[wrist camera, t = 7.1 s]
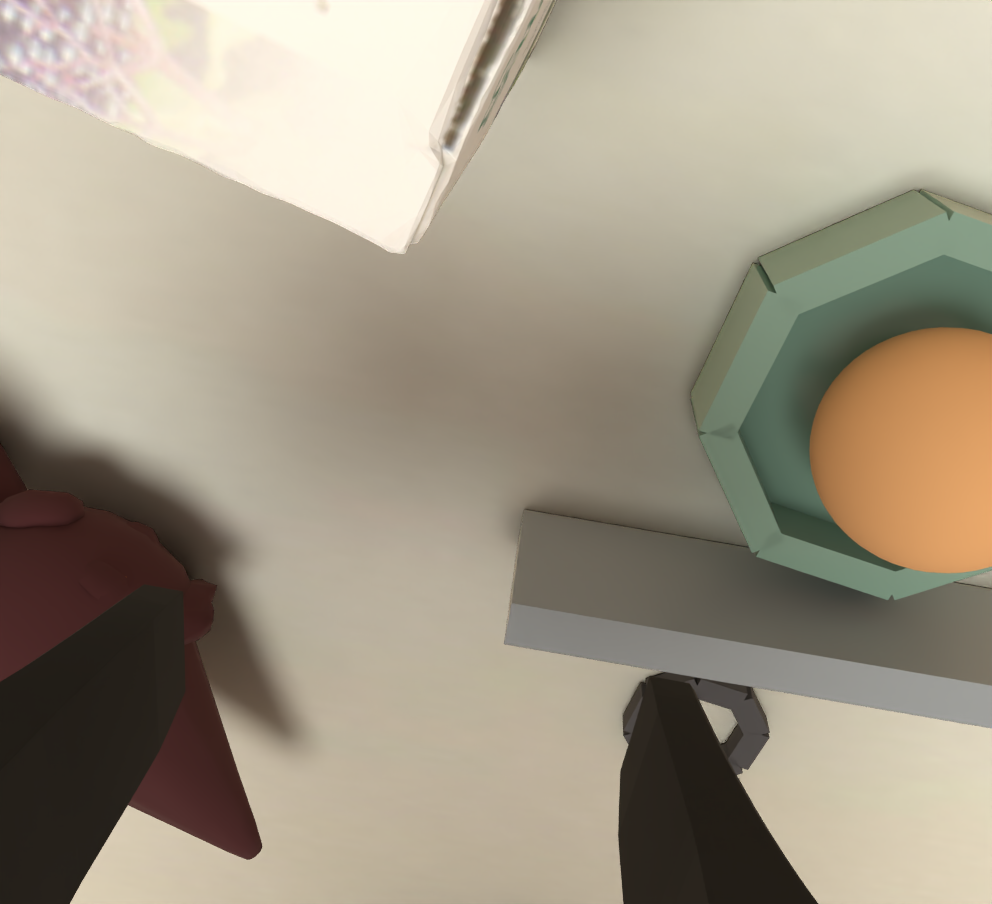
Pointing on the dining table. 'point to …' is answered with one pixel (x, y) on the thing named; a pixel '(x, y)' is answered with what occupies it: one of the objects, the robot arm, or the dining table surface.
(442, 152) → the syrup box
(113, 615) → the robot arm
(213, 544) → the dining table surface
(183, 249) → the dining table surface
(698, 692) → the ring
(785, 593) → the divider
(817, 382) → the dish
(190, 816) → the icecream
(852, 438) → the ball
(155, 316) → the dining table surface
